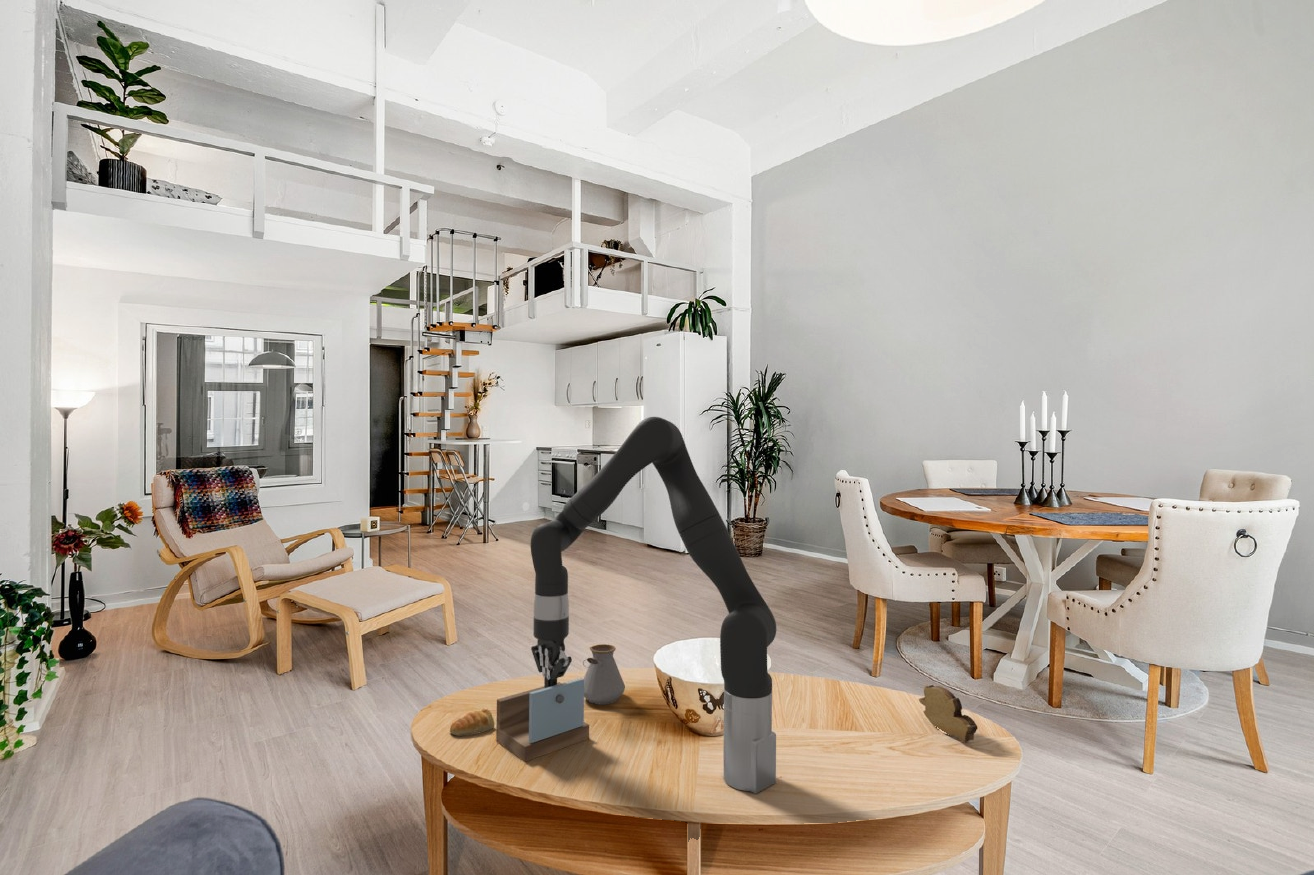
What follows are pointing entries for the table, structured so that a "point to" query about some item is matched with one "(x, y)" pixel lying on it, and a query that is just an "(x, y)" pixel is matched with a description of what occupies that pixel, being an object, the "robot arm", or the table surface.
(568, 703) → the light blue flat panel
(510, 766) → the table surface
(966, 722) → the wooden carving
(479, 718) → the pastry
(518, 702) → the brown wooden l-shaped piece
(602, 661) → the coffee pot
